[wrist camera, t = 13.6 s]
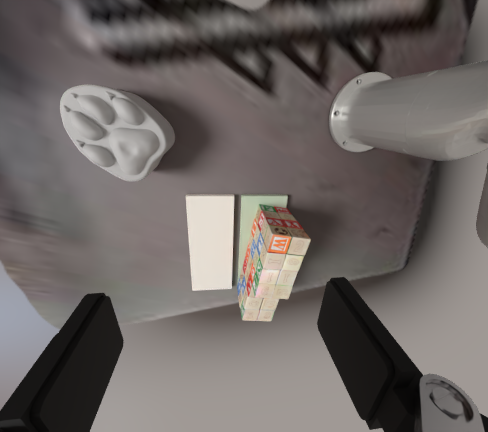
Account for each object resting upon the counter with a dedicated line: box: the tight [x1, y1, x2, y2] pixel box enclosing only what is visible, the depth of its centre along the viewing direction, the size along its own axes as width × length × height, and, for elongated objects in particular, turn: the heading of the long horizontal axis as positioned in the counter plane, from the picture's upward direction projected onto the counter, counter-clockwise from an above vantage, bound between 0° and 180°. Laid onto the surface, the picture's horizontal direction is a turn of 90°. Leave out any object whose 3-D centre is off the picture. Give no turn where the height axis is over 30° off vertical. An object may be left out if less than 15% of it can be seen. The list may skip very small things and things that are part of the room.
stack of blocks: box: [237, 204, 311, 321], centre depth 42 cm, size 21×6×12 cm, turn 168°
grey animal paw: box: [60, 84, 175, 181], centre depth 32 cm, size 10×13×9 cm
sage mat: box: [238, 194, 288, 282], centre depth 48 cm, size 9×23×1 cm, turn 178°
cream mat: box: [186, 194, 234, 291], centre depth 46 cm, size 9×23×1 cm, turn 178°
